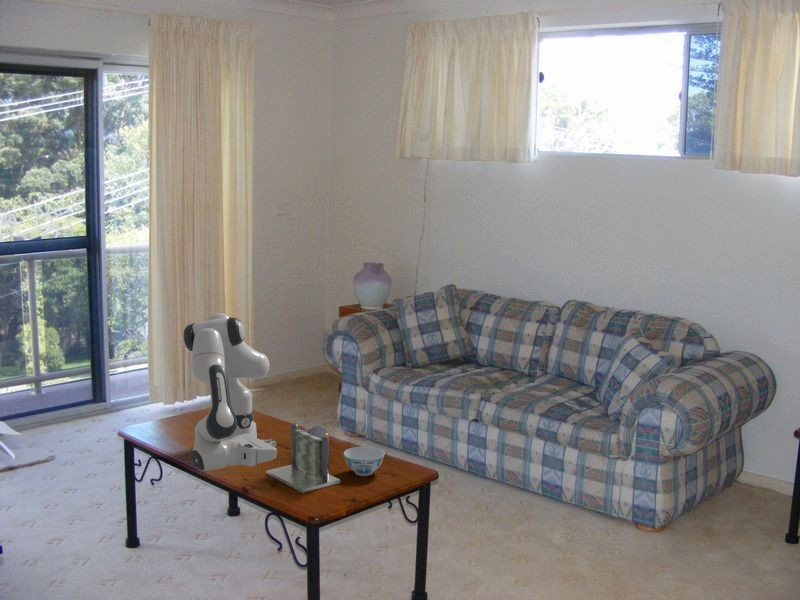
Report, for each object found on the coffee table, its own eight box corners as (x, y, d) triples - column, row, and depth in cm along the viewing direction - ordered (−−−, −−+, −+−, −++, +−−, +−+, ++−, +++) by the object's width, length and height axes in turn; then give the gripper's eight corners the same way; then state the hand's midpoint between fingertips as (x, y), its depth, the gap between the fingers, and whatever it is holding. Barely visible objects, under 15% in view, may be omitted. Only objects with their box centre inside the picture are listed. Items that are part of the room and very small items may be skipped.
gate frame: (266, 473, 318) (266, 424, 315) (303, 464, 328) (303, 416, 326) (302, 492, 300) (302, 440, 297) (340, 482, 310) (340, 432, 307)
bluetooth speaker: (305, 448, 348) (305, 424, 346) (329, 448, 349) (329, 424, 347) (303, 467, 325) (303, 442, 324) (328, 467, 326) (328, 441, 325)
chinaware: (337, 476, 316) (337, 456, 315) (353, 464, 330) (353, 444, 329) (375, 482, 311) (375, 461, 310) (390, 469, 325) (390, 449, 324)
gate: (295, 465, 321) (295, 430, 319) (299, 464, 323) (299, 429, 321) (319, 477, 309) (319, 441, 307) (323, 476, 310) (324, 440, 308)
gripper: (224, 450, 303) (259, 443, 312) (254, 468, 288) (289, 459, 296) (224, 433, 302) (258, 426, 311) (254, 450, 286) (289, 441, 295)
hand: (274, 442), depth 303 cm, fingers closed
